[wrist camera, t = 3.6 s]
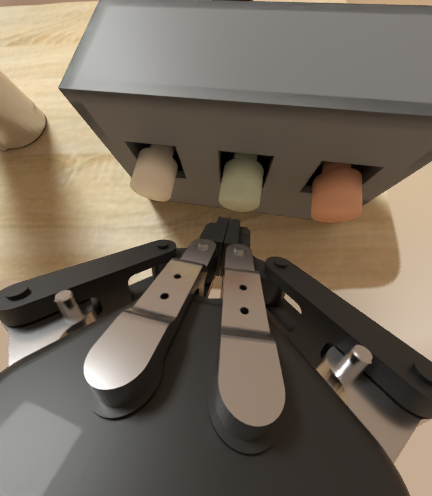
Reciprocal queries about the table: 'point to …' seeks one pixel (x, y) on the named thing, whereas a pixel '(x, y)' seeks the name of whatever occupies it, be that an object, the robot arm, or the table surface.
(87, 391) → the robot arm
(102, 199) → the table surface
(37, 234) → the table surface
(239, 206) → the sage button
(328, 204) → the terracotta button
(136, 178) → the cream button
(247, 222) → the table surface
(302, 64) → the console
